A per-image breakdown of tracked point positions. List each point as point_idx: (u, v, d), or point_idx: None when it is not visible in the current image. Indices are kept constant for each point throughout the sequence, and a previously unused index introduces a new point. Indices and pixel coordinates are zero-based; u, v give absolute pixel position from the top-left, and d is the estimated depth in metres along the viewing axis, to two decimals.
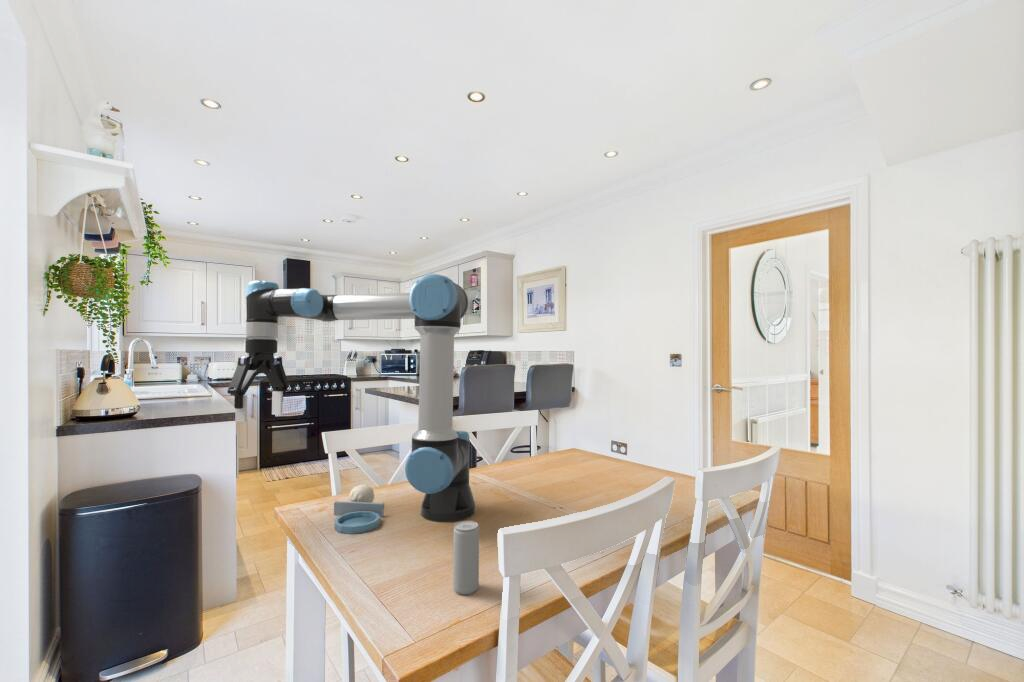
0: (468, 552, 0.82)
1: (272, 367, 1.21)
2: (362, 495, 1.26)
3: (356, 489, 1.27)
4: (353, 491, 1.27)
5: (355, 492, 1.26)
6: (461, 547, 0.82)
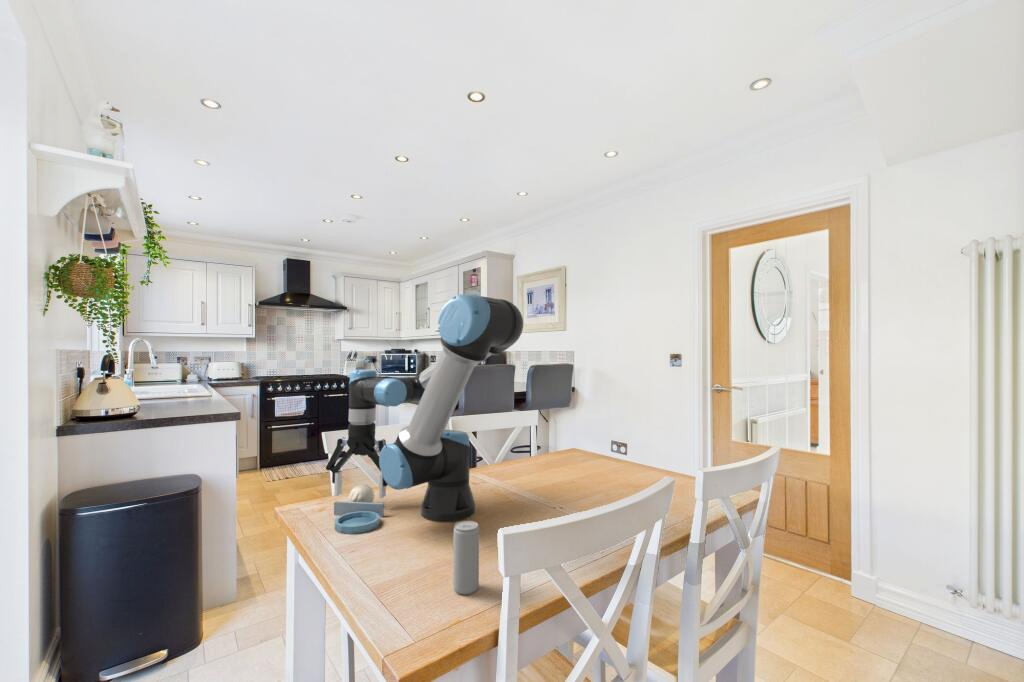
0: (468, 552, 0.82)
1: (366, 450, 1.27)
2: (362, 495, 1.26)
3: (356, 489, 1.27)
4: (353, 491, 1.27)
5: (355, 492, 1.26)
6: (461, 547, 0.82)
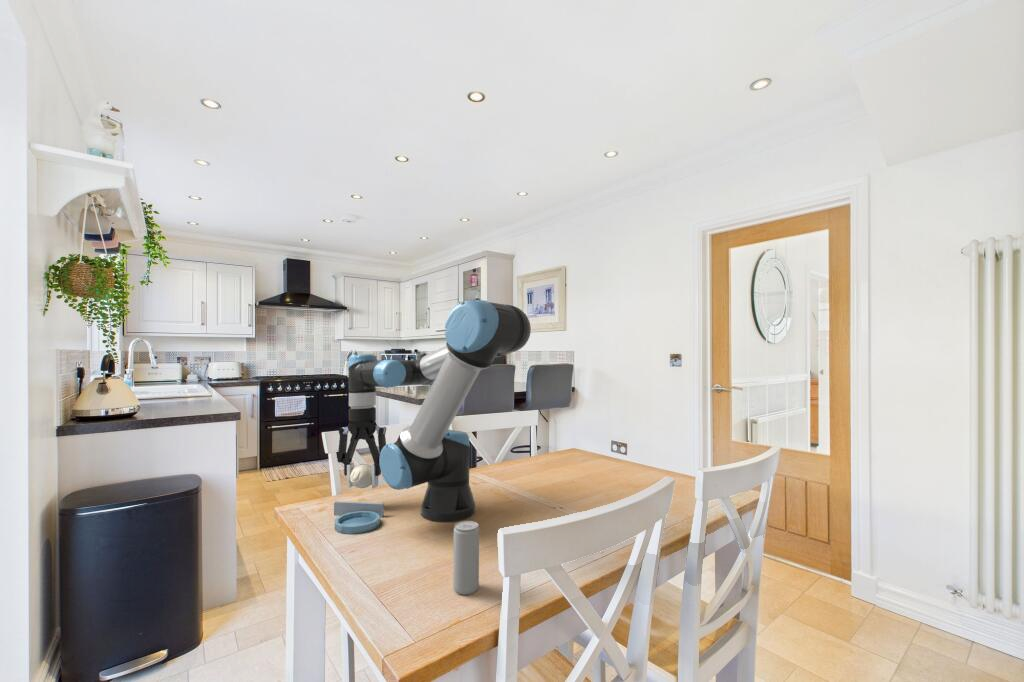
0: (468, 552, 0.82)
1: (365, 435, 1.27)
2: (363, 474, 1.26)
3: (357, 468, 1.27)
4: (354, 470, 1.26)
5: (356, 471, 1.26)
6: (461, 547, 0.82)
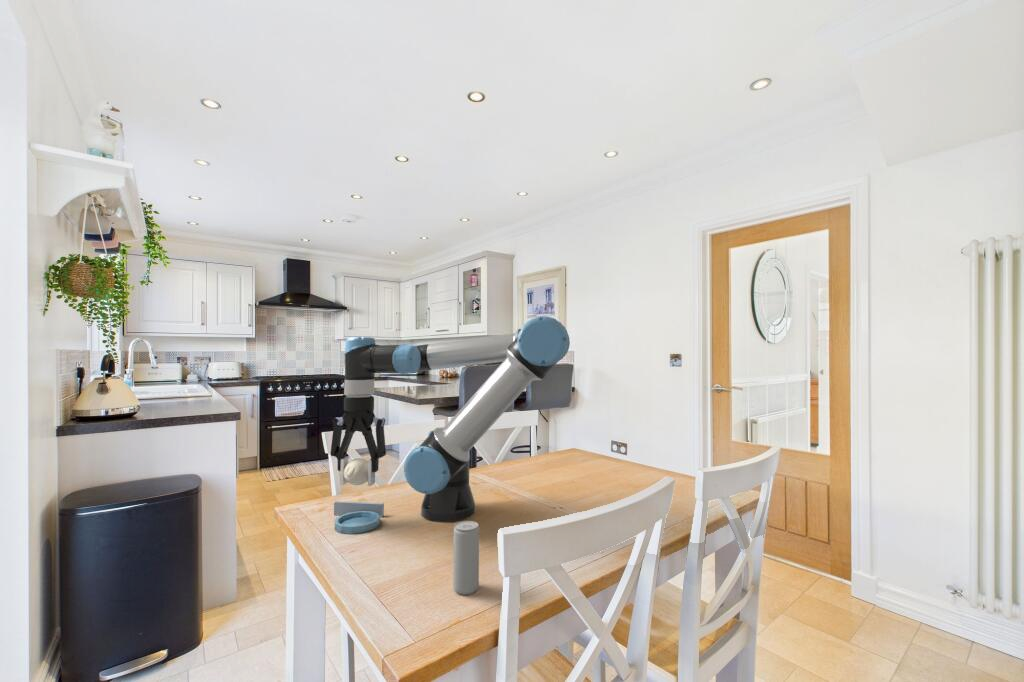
0: (468, 552, 0.82)
1: (362, 427, 1.14)
2: (358, 469, 1.13)
3: (352, 463, 1.14)
4: (349, 465, 1.14)
5: (351, 466, 1.14)
6: (461, 547, 0.82)
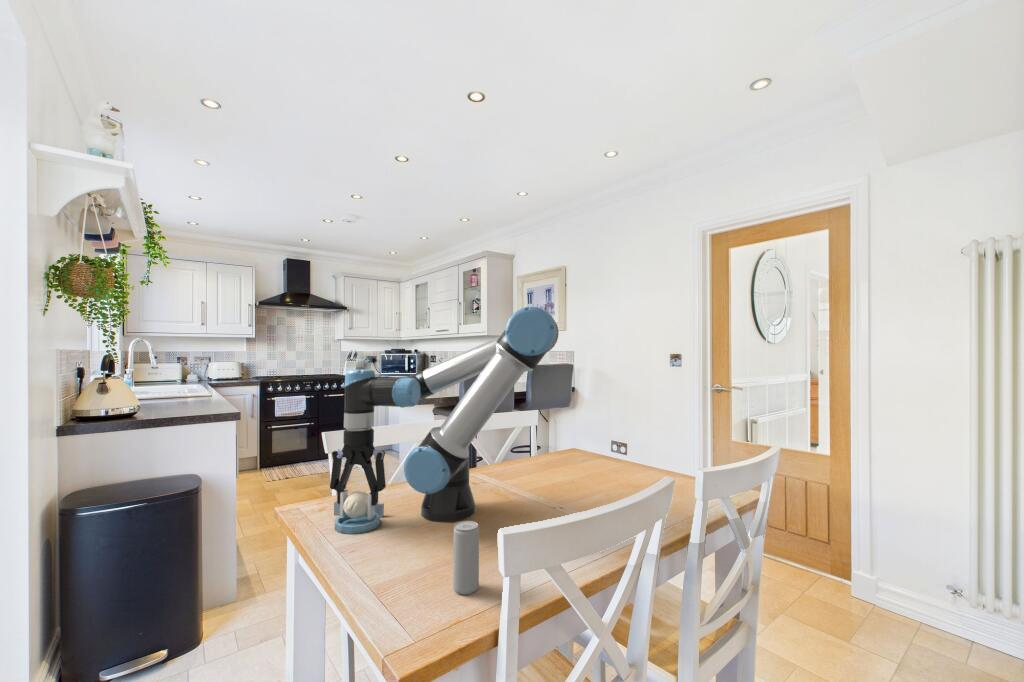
0: (468, 552, 0.82)
1: (361, 460, 1.14)
2: (358, 503, 1.13)
3: (352, 496, 1.14)
4: (348, 499, 1.14)
5: (351, 500, 1.13)
6: (461, 547, 0.82)
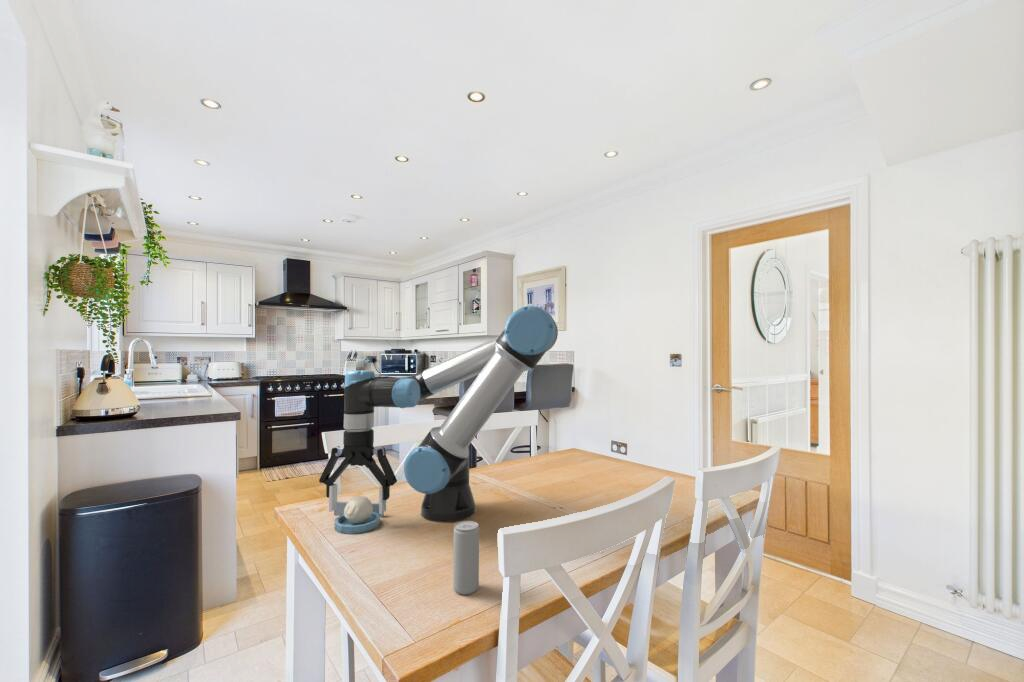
0: (468, 552, 0.82)
1: (363, 460, 1.14)
2: (359, 508, 1.13)
3: (352, 502, 1.14)
4: (349, 504, 1.14)
5: (351, 505, 1.13)
6: (461, 547, 0.82)
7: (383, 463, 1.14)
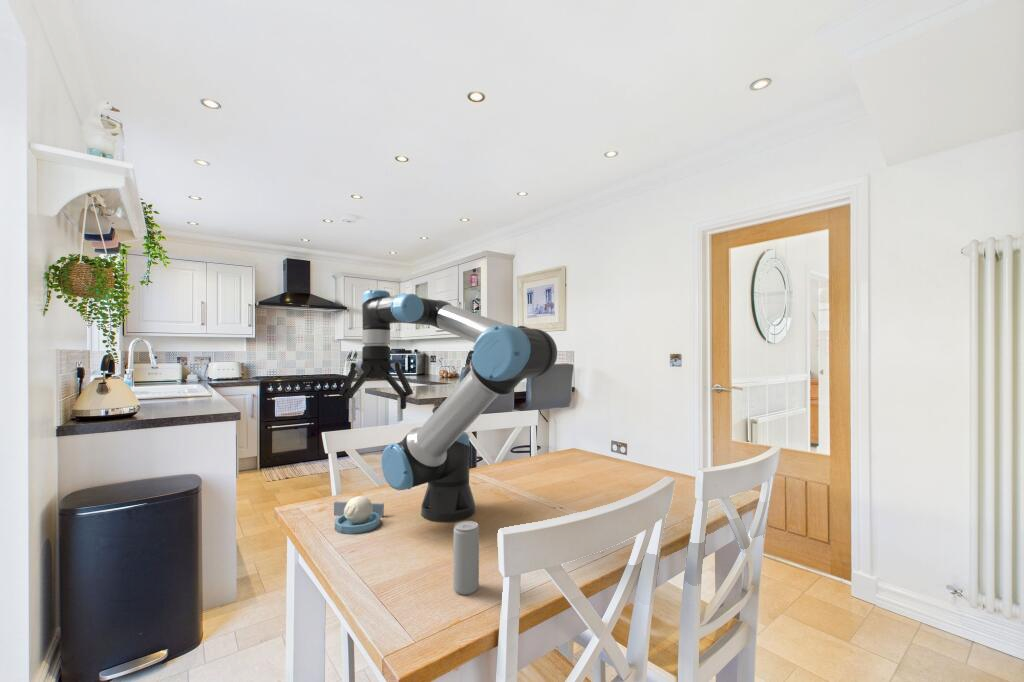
0: (468, 552, 0.82)
1: (382, 373, 1.23)
2: (358, 508, 1.13)
3: (352, 502, 1.14)
4: (349, 504, 1.14)
5: (351, 505, 1.13)
6: (461, 547, 0.82)
7: (400, 375, 1.23)
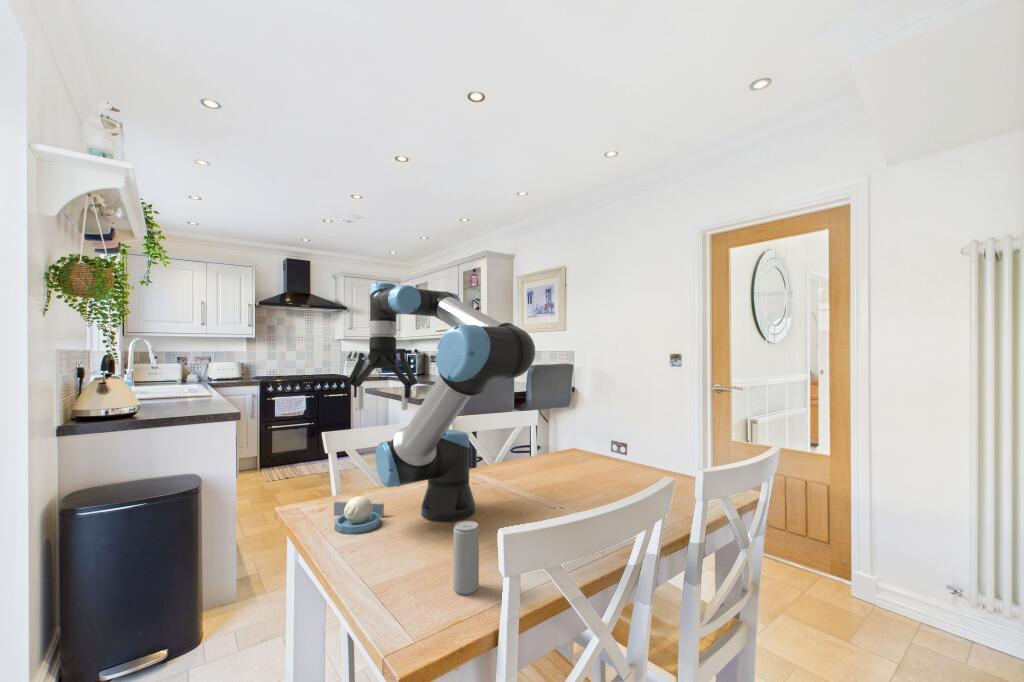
0: (468, 552, 0.82)
1: (387, 363, 1.27)
2: (358, 508, 1.13)
3: (352, 502, 1.14)
4: (349, 504, 1.14)
5: (351, 505, 1.13)
6: (461, 547, 0.82)
7: (405, 365, 1.27)
